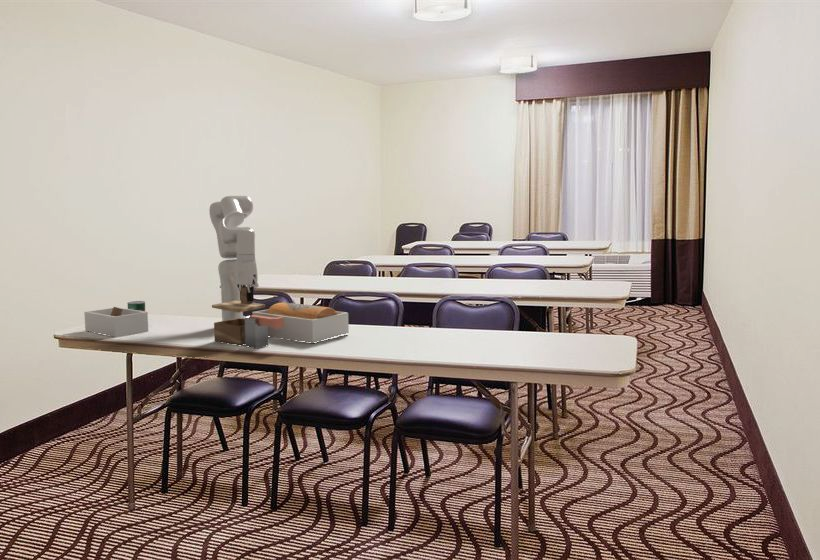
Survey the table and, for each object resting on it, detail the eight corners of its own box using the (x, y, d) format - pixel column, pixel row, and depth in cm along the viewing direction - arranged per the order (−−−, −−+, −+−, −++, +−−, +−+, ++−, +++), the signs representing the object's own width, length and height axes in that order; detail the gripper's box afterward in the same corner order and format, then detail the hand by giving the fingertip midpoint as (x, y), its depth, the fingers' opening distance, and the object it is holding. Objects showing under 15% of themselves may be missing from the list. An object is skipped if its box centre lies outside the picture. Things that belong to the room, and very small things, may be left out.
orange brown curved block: (341, 336, 296) (341, 305, 295) (315, 343, 283) (315, 310, 282) (293, 329, 314) (292, 299, 312) (266, 335, 300) (265, 304, 299)
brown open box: (240, 335, 297) (239, 317, 296) (265, 340, 288) (265, 321, 287) (214, 341, 286) (214, 322, 285) (240, 345, 277) (239, 326, 276)
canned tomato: (131, 323, 327) (130, 301, 326) (148, 323, 328) (147, 300, 326) (125, 326, 319) (124, 303, 318) (142, 326, 320) (141, 303, 318)
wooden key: (256, 323, 278) (256, 313, 278) (284, 327, 269) (283, 317, 269) (248, 324, 275) (247, 315, 274) (276, 329, 266) (275, 318, 265)
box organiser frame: (289, 326, 319) (289, 305, 318) (348, 335, 299) (348, 312, 298) (252, 334, 300) (252, 312, 299) (312, 344, 280) (312, 320, 279)
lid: (238, 302, 297) (238, 284, 295) (265, 307, 287) (265, 288, 286) (212, 307, 285) (211, 288, 283) (238, 312, 275) (238, 292, 274)
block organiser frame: (117, 325, 320) (116, 307, 319) (148, 331, 307) (147, 312, 306) (85, 331, 307) (84, 311, 306) (115, 337, 294) (114, 317, 293)
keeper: (258, 343, 281) (257, 315, 279) (268, 345, 277) (267, 316, 276) (245, 346, 275) (244, 317, 274) (255, 348, 272) (255, 319, 270)
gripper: (225, 257, 288) (227, 299, 291) (252, 260, 279) (253, 304, 282) (239, 255, 294) (240, 297, 297) (266, 258, 285) (266, 301, 288)
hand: (246, 300), depth 289 cm, fingers closed on lid, 3 cm apart
